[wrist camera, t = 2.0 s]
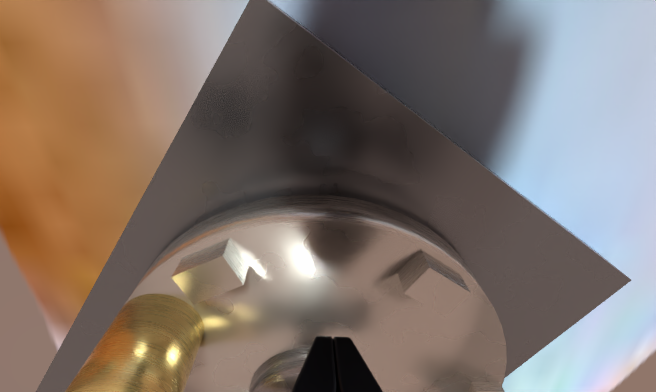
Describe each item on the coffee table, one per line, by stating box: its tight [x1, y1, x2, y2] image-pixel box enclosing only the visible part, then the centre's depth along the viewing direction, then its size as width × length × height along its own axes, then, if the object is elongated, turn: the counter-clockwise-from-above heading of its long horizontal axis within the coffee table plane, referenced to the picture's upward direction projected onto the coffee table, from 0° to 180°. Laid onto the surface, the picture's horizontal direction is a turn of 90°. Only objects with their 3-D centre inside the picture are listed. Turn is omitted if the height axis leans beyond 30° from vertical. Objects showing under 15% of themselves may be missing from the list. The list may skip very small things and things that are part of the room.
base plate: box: [36, 0, 631, 392], centre depth 18 cm, size 22×19×2 cm
